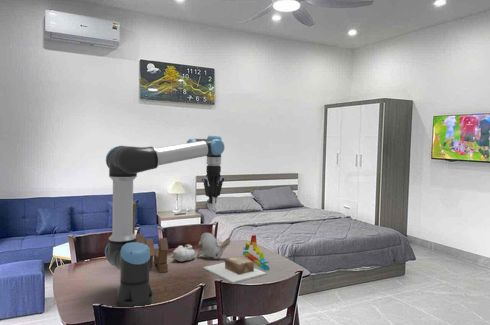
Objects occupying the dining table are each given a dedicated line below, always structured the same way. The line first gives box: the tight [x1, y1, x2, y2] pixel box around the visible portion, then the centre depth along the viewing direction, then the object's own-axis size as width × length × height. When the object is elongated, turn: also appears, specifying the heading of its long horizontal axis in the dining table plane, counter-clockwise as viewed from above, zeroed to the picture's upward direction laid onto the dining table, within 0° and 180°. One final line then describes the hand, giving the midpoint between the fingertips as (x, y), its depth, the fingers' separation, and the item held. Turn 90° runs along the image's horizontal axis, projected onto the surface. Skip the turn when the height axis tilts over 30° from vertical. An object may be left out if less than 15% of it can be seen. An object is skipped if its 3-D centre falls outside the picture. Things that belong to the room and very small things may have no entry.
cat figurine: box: [170, 244, 196, 263], centre depth 209 cm, size 10×8×15 cm
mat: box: [202, 262, 267, 284], centre depth 194 cm, size 22×26×1 cm
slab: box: [224, 255, 255, 275], centre depth 194 cm, size 5×12×10 cm
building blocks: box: [133, 200, 169, 274], centre depth 191 cm, size 19×25×35 cm
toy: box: [196, 232, 231, 260], centre depth 214 cm, size 8×15×20 cm
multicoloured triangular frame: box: [242, 234, 270, 271], centre depth 212 cm, size 30×3×15 cm, turn 23°
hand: (212, 209), depth 193 cm, fingers closed
